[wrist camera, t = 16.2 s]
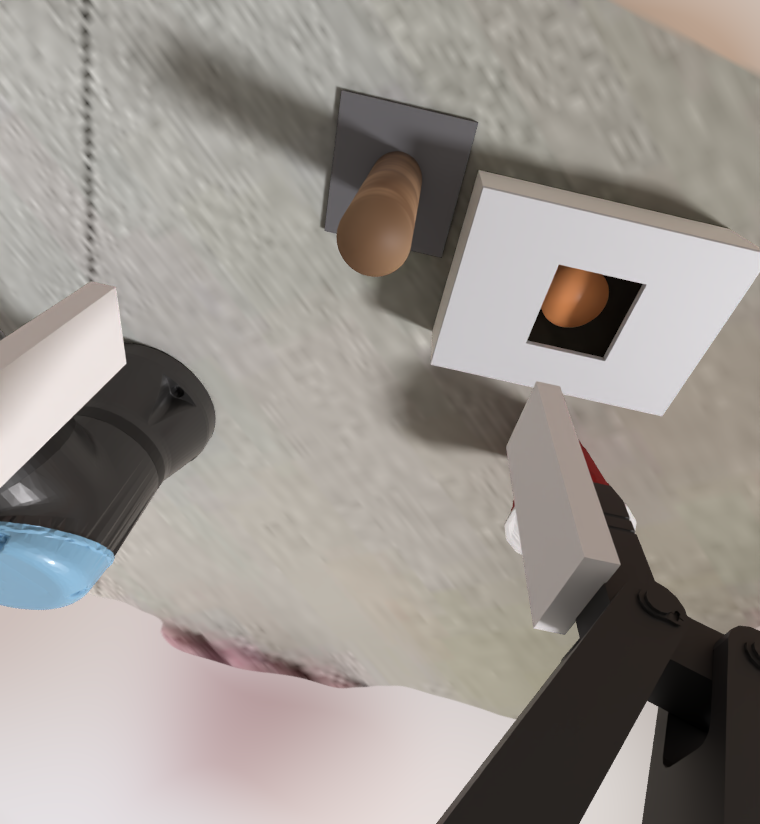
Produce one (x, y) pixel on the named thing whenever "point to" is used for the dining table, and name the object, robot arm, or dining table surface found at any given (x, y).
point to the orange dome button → (575, 297)
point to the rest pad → (412, 134)
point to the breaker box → (596, 252)
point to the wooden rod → (382, 216)
